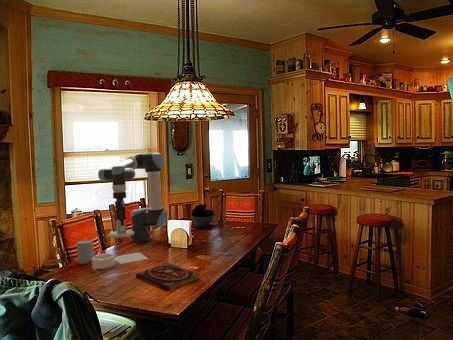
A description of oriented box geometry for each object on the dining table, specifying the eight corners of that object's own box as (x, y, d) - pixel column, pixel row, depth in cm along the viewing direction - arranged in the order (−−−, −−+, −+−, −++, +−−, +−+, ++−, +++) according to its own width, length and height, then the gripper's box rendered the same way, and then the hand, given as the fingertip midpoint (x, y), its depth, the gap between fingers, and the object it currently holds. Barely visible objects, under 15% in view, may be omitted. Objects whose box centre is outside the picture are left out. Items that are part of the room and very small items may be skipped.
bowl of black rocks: (205, 223, 327) (205, 202, 326) (219, 226, 312) (219, 204, 311) (186, 227, 315) (186, 205, 313) (200, 230, 299) (199, 207, 298)
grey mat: (139, 253, 238) (139, 252, 238) (148, 260, 224) (148, 258, 224) (112, 258, 229) (112, 257, 229) (120, 265, 215) (120, 264, 215)
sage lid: (129, 230, 232) (129, 218, 232) (137, 234, 219) (137, 221, 219) (105, 234, 224) (104, 221, 223) (112, 238, 211) (111, 225, 211)
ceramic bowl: (111, 262, 222) (110, 252, 222) (117, 267, 212) (116, 257, 212) (90, 266, 216) (90, 256, 216) (95, 271, 206) (95, 261, 205)
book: (136, 279, 195) (135, 270, 194) (169, 268, 209) (168, 259, 209) (167, 293, 174) (166, 283, 174) (201, 279, 189) (200, 270, 188)
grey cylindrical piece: (97, 259, 229) (96, 239, 229) (88, 264, 220) (86, 243, 219) (84, 258, 232) (83, 239, 231) (74, 263, 223) (73, 243, 222)
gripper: (109, 191, 225) (111, 229, 226) (117, 193, 211) (119, 233, 213) (121, 190, 229) (123, 227, 230) (130, 192, 216) (131, 231, 217)
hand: (121, 230), depth 221 cm, fingers closed on sage lid, 3 cm apart
